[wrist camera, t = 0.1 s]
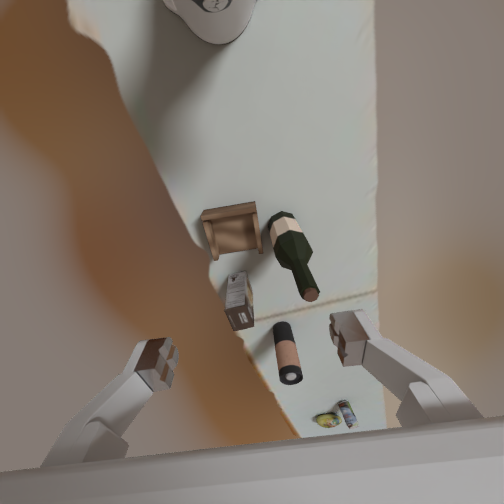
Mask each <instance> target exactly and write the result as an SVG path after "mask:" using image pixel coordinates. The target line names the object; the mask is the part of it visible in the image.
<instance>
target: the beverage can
mask: <svg viewBox="0 0 504 504" xmlns="http://www.w3.org/2000/svg"><path fill="white" fill-rule="evenodd" d="M339 408H340V410H341V412H342V415H343V417H344V419H345V422H346V424H347V426H348V427H349V429H354V428H357V427H358V421H357V419H356V417H355V415H354V413H353V410H352V408H351V406H350V404H349V402H347V401H342V402H340V403H339Z"/></svg>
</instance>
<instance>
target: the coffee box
mask: <svg viewBox="0 0 504 504" xmlns="http://www.w3.org/2000/svg"><path fill="white" fill-rule="evenodd" d="M224 311H225V313H226V315H227V317H228V320H229V322H230V324H231V326H232V329H233V331H238V330H243V329H247V328H250V327H254V312H253V293H252V288H251V285H250V282H249V279H248V276H247V273H246V271H243V272H239V273H235V274H231V275H229V277H228V285H227V294H226V302H225V310H224Z"/></svg>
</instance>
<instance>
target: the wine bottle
mask: <svg viewBox="0 0 504 504" xmlns="http://www.w3.org/2000/svg"><path fill="white" fill-rule="evenodd" d="M268 228H269V232H270V236H271V240H272V244H273V248H274V252H275V256H276V258H277V260H278V262H279V263H280V265H281V266H282V267H283V268H286V269H290V270H292V273H293V276H294V279H295V282H296V285H297V288H298V291H299V293H300V295H301V297H302V299H305V300H306V301H308V302H312V301H315V300H317V298H318V296H319V295H318V294H319V293H320V291H319V289H318V287H317V284H316V282H315V280H314V278H313V276H312V274H311V272H310V270H309V267H308V265H307V264H308V262H309V260H310V257H311V255H312V253H313V251H312V249H311V247H310V245H309V243H308V241H307V239H306V237H305V236H304V234H303V232H302V230H301V229H300V227H299V225H298V223H297V222H296V220H295V218H294V216H293V215H292V214H291V213H287V212H283V211H281V212H279V213H277V214H275V215H274V216H272V217H271V219H270V223H269V226H268Z"/></svg>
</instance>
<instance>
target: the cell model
mask: <svg viewBox="0 0 504 504" xmlns="http://www.w3.org/2000/svg"><path fill="white" fill-rule="evenodd" d="M316 421H317V423H318V424H319V425H320V426H322V427H325V428H331V427H335V426H337V425H339V424H340V423H341V422H342V419H341V418H340V417H339V416H337V415H335V414H323V415H320V416H318V417H317V419H316Z"/></svg>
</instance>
